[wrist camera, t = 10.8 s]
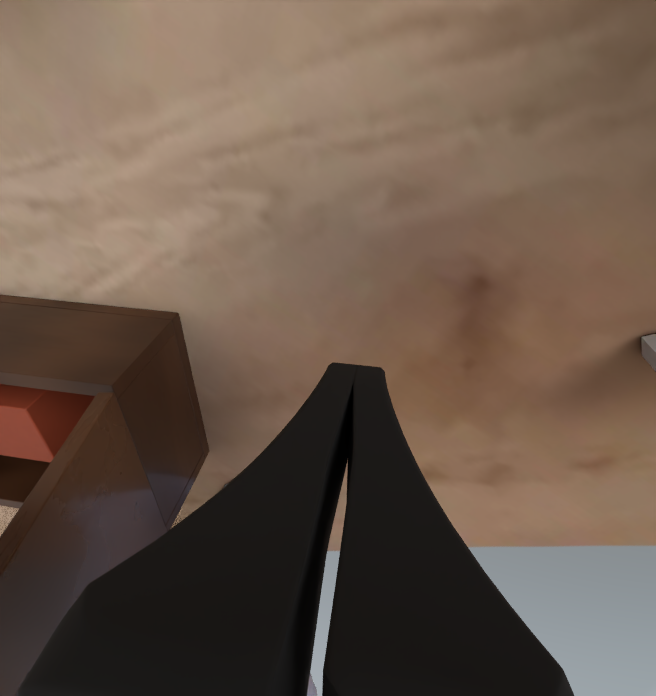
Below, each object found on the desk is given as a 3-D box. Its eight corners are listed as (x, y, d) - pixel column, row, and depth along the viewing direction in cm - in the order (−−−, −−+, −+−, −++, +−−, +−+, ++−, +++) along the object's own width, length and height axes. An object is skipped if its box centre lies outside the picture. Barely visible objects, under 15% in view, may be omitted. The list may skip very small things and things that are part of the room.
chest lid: (-28, 1098, 11) (-1, 1097, 11) (-606, 1428, 4) (-530, 1421, 4) (159, 540, 23) (171, 540, 23) (97, 391, 16) (114, 391, 16)
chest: (27, 425, 30) (-49, 497, 25) (-54, 288, 23) (-179, 349, 18) (209, 451, 29) (168, 533, 24) (179, 312, 22) (111, 385, 17)
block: (103, 411, 27) (56, 464, 23) (43, 403, 27) (-11, 453, 23) (80, 359, 24) (25, 409, 20) (15, 351, 25) (-50, 399, 21)
